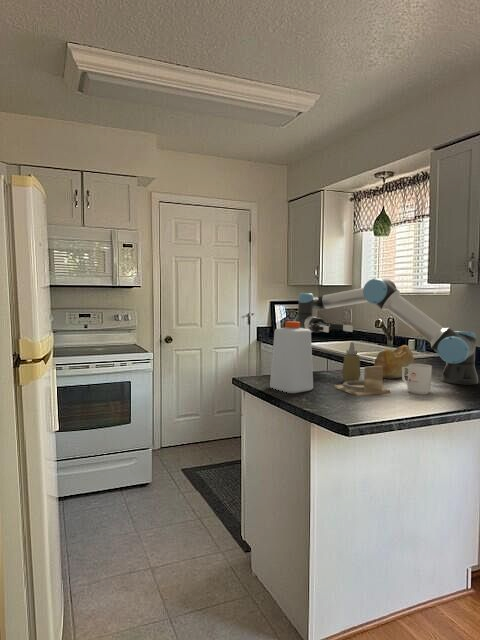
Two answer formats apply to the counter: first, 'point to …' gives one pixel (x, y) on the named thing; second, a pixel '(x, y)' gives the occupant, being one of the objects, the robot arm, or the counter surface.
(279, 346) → the plastic bottle
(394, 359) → the rough brown rock
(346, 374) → the squeeze bottle
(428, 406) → the counter surface
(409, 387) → the mug
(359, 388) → the cup bracket
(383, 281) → the robot arm
